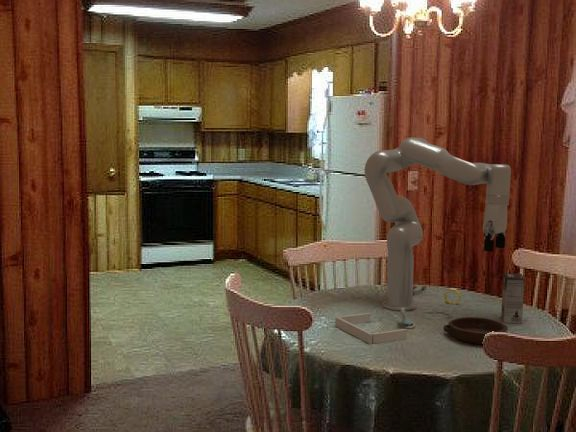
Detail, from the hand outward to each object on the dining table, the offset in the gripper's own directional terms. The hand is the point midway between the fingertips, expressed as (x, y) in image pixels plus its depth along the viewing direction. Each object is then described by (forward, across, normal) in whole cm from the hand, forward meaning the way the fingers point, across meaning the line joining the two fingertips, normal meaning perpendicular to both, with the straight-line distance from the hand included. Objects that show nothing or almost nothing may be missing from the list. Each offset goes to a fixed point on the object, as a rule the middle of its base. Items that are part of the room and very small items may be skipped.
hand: (494, 249), depth 226 cm
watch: (+26, -14, -21) cm, 37 cm away
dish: (+26, +22, +5) cm, 34 cm away
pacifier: (+26, +25, -19) cm, 41 cm away
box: (+26, +39, -24) cm, 53 cm away
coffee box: (+26, -7, +5) cm, 27 cm away
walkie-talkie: (+27, -20, -43) cm, 54 cm away
